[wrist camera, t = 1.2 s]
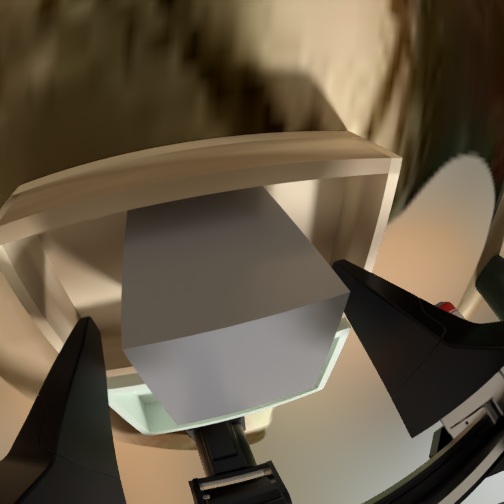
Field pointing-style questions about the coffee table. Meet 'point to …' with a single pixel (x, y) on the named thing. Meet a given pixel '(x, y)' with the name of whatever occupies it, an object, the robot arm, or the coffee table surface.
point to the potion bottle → (493, 285)
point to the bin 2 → (159, 421)
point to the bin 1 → (175, 188)
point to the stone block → (225, 303)
